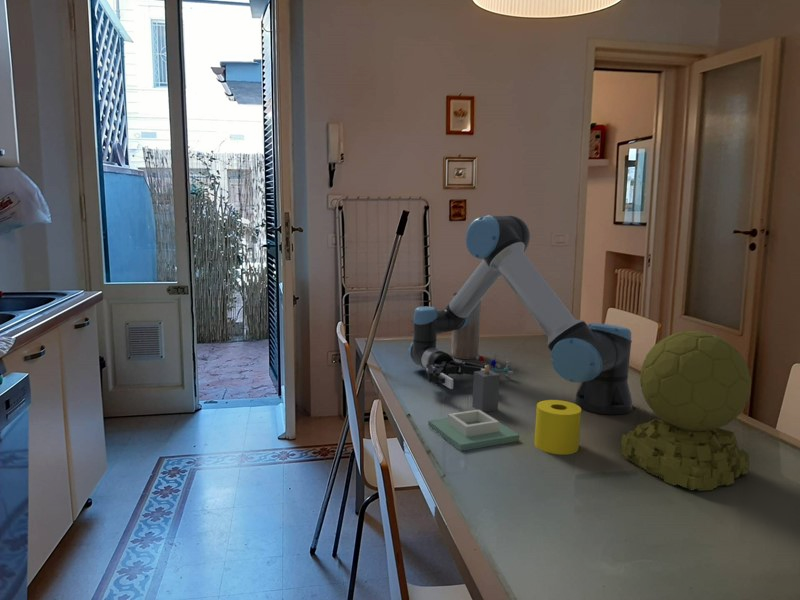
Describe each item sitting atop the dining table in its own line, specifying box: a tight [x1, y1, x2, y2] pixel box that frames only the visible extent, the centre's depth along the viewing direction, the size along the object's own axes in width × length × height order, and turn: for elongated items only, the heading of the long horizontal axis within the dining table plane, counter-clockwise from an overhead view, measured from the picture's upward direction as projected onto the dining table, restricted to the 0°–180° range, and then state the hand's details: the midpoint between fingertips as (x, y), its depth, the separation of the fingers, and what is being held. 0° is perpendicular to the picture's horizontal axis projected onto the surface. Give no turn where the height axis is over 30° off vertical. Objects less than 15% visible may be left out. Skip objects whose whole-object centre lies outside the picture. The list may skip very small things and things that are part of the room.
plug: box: [471, 364, 500, 413], centre depth 164 cm, size 5×5×12 cm
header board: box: [427, 409, 520, 452], centre depth 147 cm, size 16×16×4 cm
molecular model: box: [475, 353, 514, 378], centre depth 193 cm, size 12×10×10 cm
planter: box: [450, 292, 482, 360], centre depth 217 cm, size 10×10×23 cm
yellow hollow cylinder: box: [533, 399, 582, 455], centre depth 140 cm, size 10×10×9 cm
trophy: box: [620, 330, 752, 492], centre depth 129 cm, size 22×22×30 cm
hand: (473, 381), depth 169 cm, fingers open, 13 cm apart
